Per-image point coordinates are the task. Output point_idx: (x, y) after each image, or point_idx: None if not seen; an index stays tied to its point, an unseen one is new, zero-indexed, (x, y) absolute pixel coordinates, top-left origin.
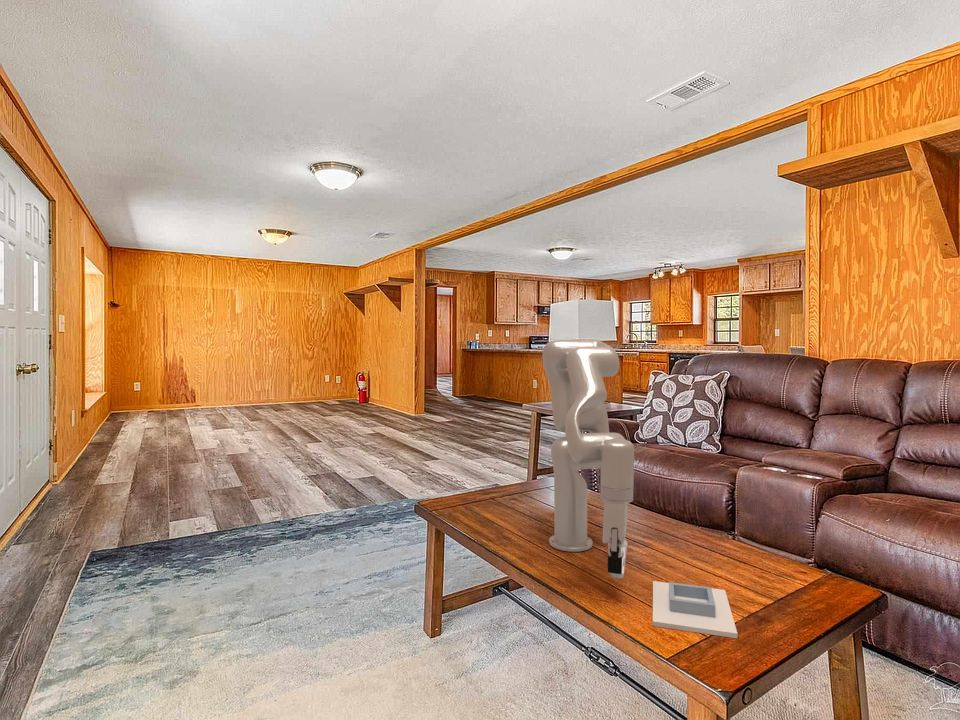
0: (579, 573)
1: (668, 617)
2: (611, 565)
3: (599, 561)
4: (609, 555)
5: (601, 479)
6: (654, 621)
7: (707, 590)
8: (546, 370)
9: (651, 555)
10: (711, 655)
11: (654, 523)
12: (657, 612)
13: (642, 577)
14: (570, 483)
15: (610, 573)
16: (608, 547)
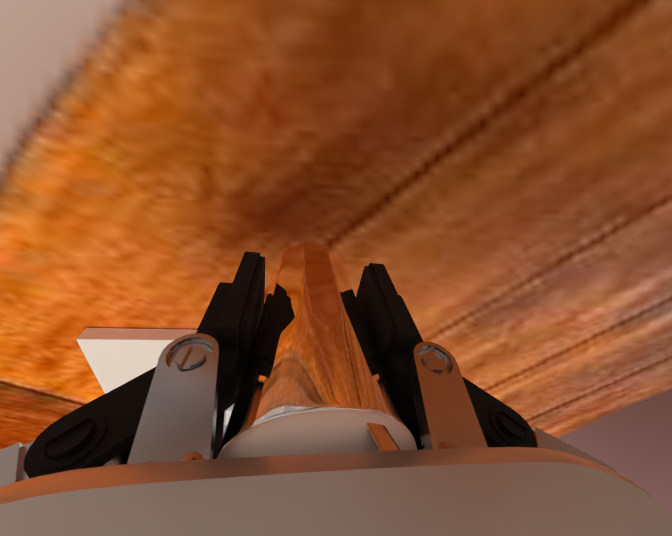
0: (488, 67)
1: (135, 369)
2: (212, 301)
3: (582, 181)
4: (164, 355)
5: None
6: (79, 342)
7: None
8: None
9: (558, 332)
10: (21, 416)
11: None
12: (152, 349)
13: (422, 310)
14: None
15: (295, 251)
16: (289, 371)
